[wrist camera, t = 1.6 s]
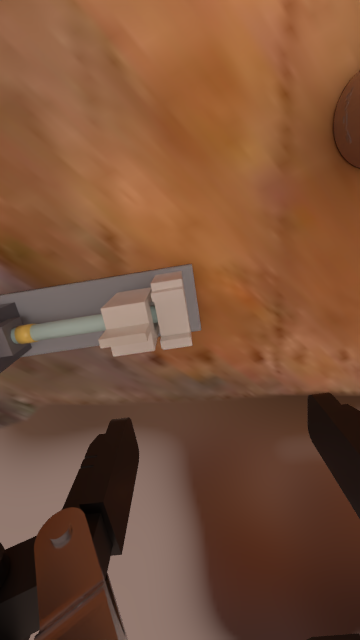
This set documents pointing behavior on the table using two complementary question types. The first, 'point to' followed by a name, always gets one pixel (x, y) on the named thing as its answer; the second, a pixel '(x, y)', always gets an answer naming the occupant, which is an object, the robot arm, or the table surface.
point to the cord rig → (94, 313)
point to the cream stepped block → (129, 323)
